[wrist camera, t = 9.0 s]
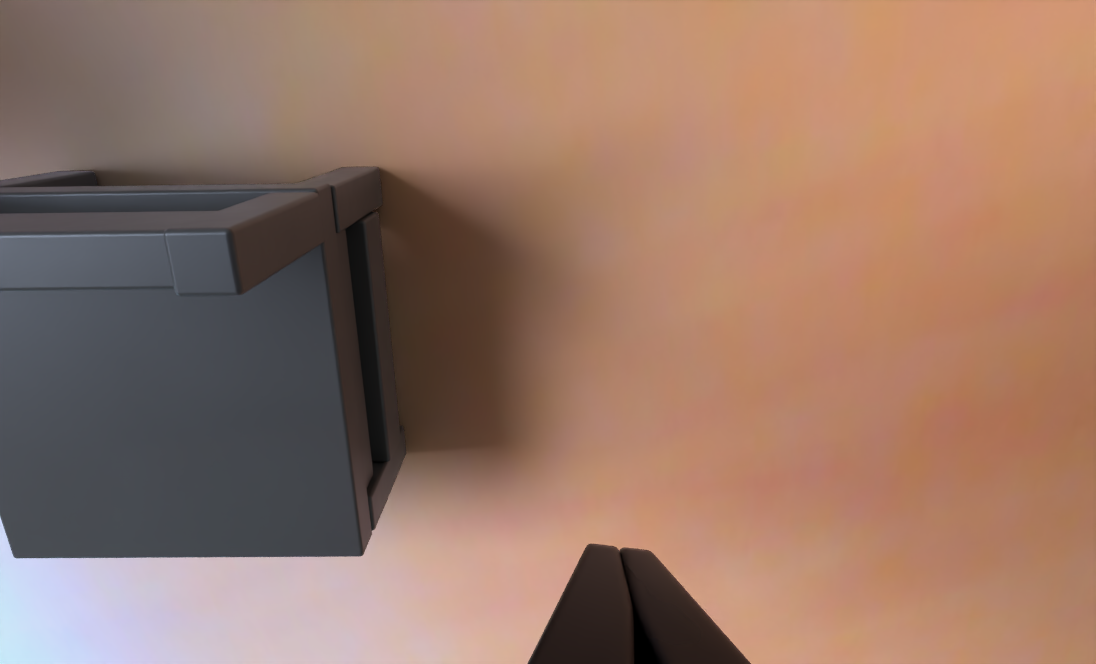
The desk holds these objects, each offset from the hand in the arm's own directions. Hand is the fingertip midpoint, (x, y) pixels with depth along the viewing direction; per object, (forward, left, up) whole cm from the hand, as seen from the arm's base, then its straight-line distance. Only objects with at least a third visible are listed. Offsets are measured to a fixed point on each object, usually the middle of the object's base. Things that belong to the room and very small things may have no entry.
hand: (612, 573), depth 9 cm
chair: (-1, +8, -9) cm, 12 cm away
